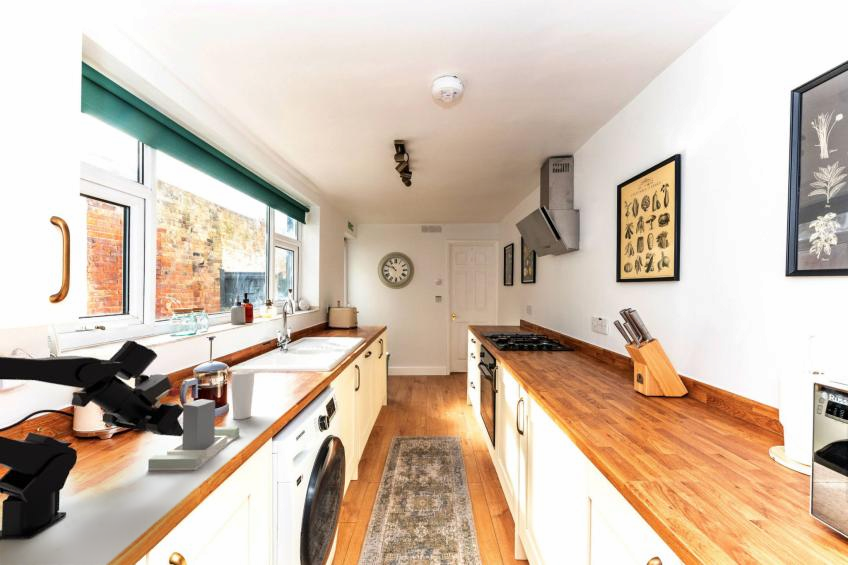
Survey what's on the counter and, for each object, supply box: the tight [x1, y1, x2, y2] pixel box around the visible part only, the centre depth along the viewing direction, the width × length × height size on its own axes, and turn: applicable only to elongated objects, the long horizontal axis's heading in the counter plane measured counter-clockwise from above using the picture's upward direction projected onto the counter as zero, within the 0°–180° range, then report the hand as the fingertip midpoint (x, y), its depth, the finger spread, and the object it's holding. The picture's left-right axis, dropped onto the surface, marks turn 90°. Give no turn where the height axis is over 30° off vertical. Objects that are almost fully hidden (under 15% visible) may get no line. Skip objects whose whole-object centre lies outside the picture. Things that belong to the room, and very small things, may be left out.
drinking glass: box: [230, 369, 255, 421], centre depth 118 cm, size 7×7×15 cm
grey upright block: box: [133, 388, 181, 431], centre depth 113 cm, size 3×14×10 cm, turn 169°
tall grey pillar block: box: [182, 398, 216, 450], centre depth 93 cm, size 5×5×12 cm
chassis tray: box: [147, 426, 240, 471], centre depth 93 cm, size 20×11×2 cm, turn 1°
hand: (168, 431), depth 86 cm, fingers open, 9 cm apart
